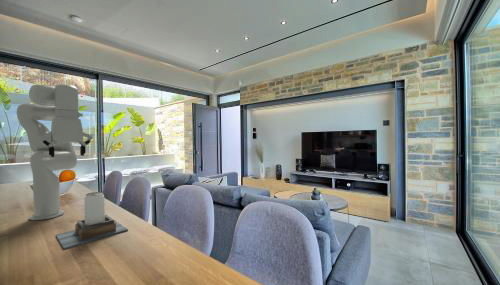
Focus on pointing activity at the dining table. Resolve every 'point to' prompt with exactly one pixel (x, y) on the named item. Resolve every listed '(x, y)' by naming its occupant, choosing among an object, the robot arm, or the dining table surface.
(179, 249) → the dining table surface
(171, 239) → the dining table surface
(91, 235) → the board
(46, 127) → the robot arm
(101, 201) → the can
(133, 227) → the dining table surface
